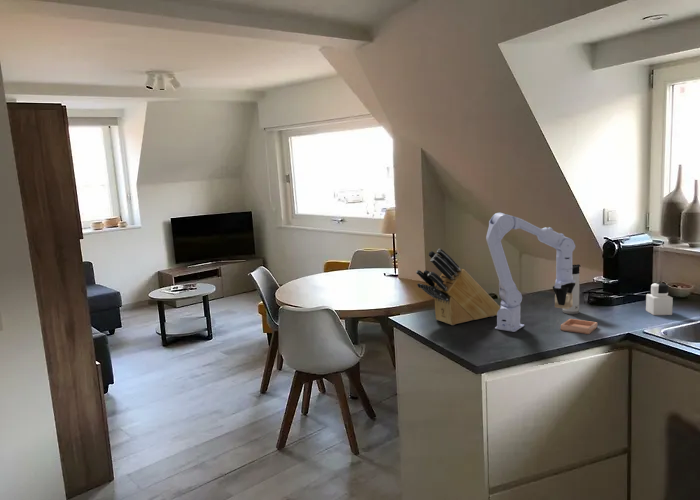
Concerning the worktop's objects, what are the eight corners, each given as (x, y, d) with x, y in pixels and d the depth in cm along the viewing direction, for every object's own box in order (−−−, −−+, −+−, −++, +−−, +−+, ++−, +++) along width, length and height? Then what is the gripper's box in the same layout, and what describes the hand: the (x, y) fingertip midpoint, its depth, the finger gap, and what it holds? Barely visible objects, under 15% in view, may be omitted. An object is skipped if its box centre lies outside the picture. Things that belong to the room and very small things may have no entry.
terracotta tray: (588, 334, 196) (588, 329, 196) (560, 330, 203) (560, 324, 202) (597, 327, 204) (597, 322, 203) (570, 323, 210) (570, 318, 210)
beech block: (568, 309, 205) (568, 296, 204) (554, 307, 208) (554, 294, 207) (572, 306, 208) (572, 293, 208) (559, 304, 212) (559, 292, 211)
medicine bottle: (663, 310, 221) (665, 281, 220) (672, 315, 214) (673, 285, 213) (645, 310, 222) (646, 282, 220) (653, 315, 215) (654, 285, 213)
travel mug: (581, 314, 222) (582, 266, 219) (564, 314, 223) (564, 266, 220) (578, 310, 228) (578, 263, 225) (561, 310, 229) (561, 263, 226)
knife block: (415, 323, 219) (413, 248, 215) (483, 310, 235) (482, 239, 230) (431, 330, 210) (429, 251, 205) (501, 315, 225) (501, 241, 220)
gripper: (568, 272, 198) (568, 308, 200) (581, 265, 209) (580, 300, 211) (549, 270, 202) (549, 306, 204) (562, 264, 213) (562, 298, 215)
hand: (563, 303), depth 208 cm, fingers closed on beech block, 5 cm apart
